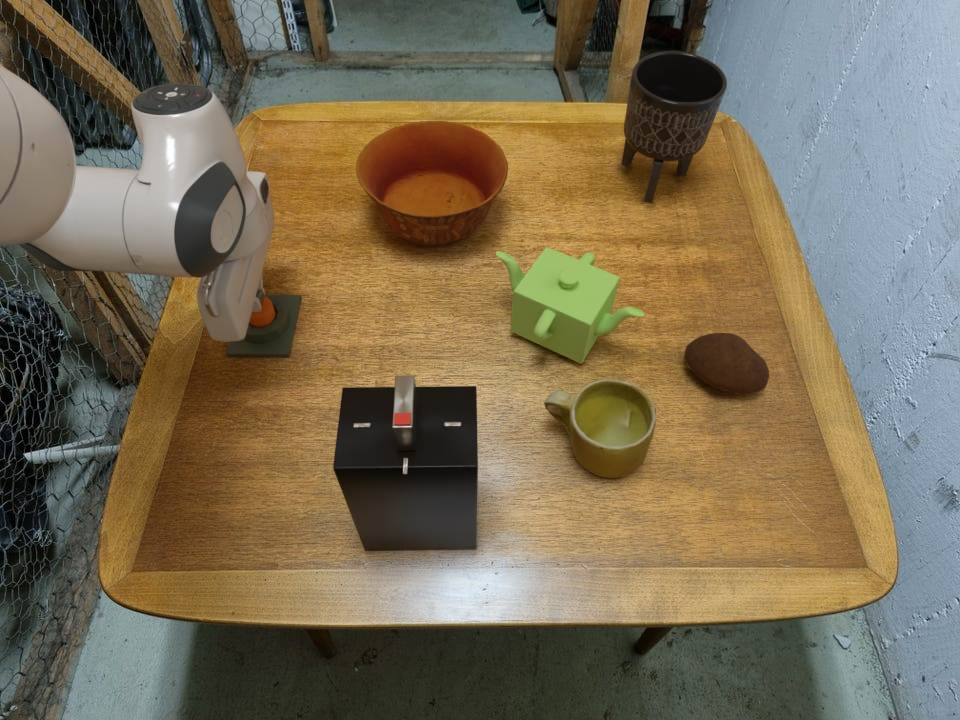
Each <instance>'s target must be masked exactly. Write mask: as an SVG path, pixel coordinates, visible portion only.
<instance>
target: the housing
mask: <svg viewBox="0 0 960 720" xmlns="http://www.w3.org/2000/svg"><path fill="white" fill-rule="evenodd" d="M265 297H267V298H269V299H270V300H271V302H272V305H273V307H274V310H275V313H276V316H275V319H274V320H273V322H272V323H270V324H269V325H267V326H264V327H254V326H252V325H251V324H250V323H249V325H248V329H247V333H246V337H245V338H244V339H243V340H241V341H232V342H228V344H227V348H226V351H225V355H226V357H228V358H290V357H291V353H292V347H293V343H294V337H295V334H296V333H295V332H296V328H297V322H298V317H299V313H300V310H301V309H300V308H301V303H302V299H303V298H302V295H301V294H265Z"/></svg>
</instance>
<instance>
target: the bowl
mask: <svg viewBox="0 0 960 720" xmlns="http://www.w3.org/2000/svg"><path fill="white" fill-rule="evenodd" d="M508 172H509V162H508V159H507V157H506V155H505V152H504V150H503V149H502V147H501V146H500V145H499V144H498V143H497V142H496V141H495V140H494V139H493V138H491V137H490V136H489V135H488V134H486V132H485V133H484V132H483V131H482V130H479V129H476V128H474V127H472V126H469V125H466V124H462V123H458V122H453V121H446V120H422V121H421V120H420V121H414V122H410V123H406V124H401V125H399V126H394V127H392V128H390V129H388V130H386V131H384V132H382V133H380V134H379V135H377V136H374V138H372V139H371V140H370V141H369V142H368V143H366V145H365V146H364V147H363V148H362V149H361V152H360V153H359V155H358V156H357V159H356V163H355V174H356V177H357V180H358V182H359V185H360V186H361V188H362V189H363V190H364V193H366V195H367V196H368V197H369V198H370V199H371V200H372V201H373V202H374V203H375V206H376V208H377V210H378V213H379V216H380V217H381V219H382V221H383V223H384V224H385V225H386V226H387V228H388V229H389V230H390V231H391V232H392V233H394V234H395V235H396V236H398V237H399V238H401V239H404V240H405V241H408V242H411V243H414V244H419V245H425V246H440V245H448V244H454V243H457V242H459V241H461V240H463V239H465V238H467V237H469V236H470V235H472V234H474V233H475V232H476V231H478V229H479V228H480V227H482V225H483V224H484V222H485V220H486V218H487V217H488V214H489V211H490V208H491V204H492V202H493V200H494V199H495V198H496V197H497V196H498V195H499V194H500V193H501V191H502V190H503V188H504V186H505V184H506V181H507V178H508Z"/></svg>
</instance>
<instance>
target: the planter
mask: <svg viewBox="0 0 960 720" xmlns="http://www.w3.org/2000/svg"><path fill="white" fill-rule="evenodd" d="M727 87H728V80H727V76H726V74H725V73H724V71H723V70H722V69H721V68H720V67H719V66H718V65H717V64H715V63H714V62H712V61H711V60H709V59H708V58H706V57H703V56H700V55H698V54H694V53H690V52H685V51H677V50H671V51H670V50H669V51H667V50H666V51H659V52H654V53H651V54H648V55H645V56H644V57H642V58H640V59H639V60H638V61H637V62H636V63H635V65H634V66H633V68H632V72H631V77H630V84H629V90H628V96H627V103H626V110H625V116H624V122H623V135H624V138H625V140H624V146H623V151H622V157H621V163H620V164H621V166H623V167H625V168H628V167H630V166H631V165H632V164H633V161H634V158H635V156H636V154H637V153H638V154H640V155H642V156H644V157H646V158H649V159H652V165H651V169H650V173H649V178H648V181H647V182H648V183H647V186H646V190H645V195H644V199H643V202H645V203H650V204H653V203H654V198H655V195H656V193H657V192H656V191H657V188H658V184H659V181H660V177H661V174H662V171H663V167H664V164H665V162H677V164H676V165H677V166H676V174H677V175H678V177H685V176H687V174H688V172H689V169H690V166H691V163H692V161H693V158H694V156H695V155H696V154H697V153H699V152H700V151H702V148H703V147H704V146H705V143H706V141H707V139H708V137H709V134H710V131H711V129H712V126H713V124H714V122H715V119H716V115H717V113H718V111H719V109H720V106H721V103H722V101H723V98H724V95H725V93H726V91H727Z"/></svg>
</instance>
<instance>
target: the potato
mask: <svg viewBox="0 0 960 720" xmlns="http://www.w3.org/2000/svg"><path fill="white" fill-rule="evenodd" d="M684 359H685V362H686V365H687V366H688V368H689V369H690V371H692V372H693V374H694V375H696V377H698V378H699V379H700V380H701V381H703V382H704V383H705V384H706V385H708V386H709V387H712V388H714V389H718V390H721V391H724V392H727V393H729V394H730V393H732V394H735V395H736V394H737V395H750V394H751V395H752V394H755V393H758V392H760V391H761V390H764V389H765V388H766V387H767V385H768V383H769V379H770V369H769V367H768V364H767V362H766V360H765V358H763V357H762V355H760V354H759V353H758V352H756V351H755V349H754V348H752V347H751V345H750V344H749V343H748V342H747V341H746V340H745V339H743V338H742V337H741V336H740V335H738V334H734V333H729V332H713V333H707V334H704V335H700V336H698V337H697V338H695V339H693V340H691V342H689V343H688V344H687V345H686V346H685V349H684Z"/></svg>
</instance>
